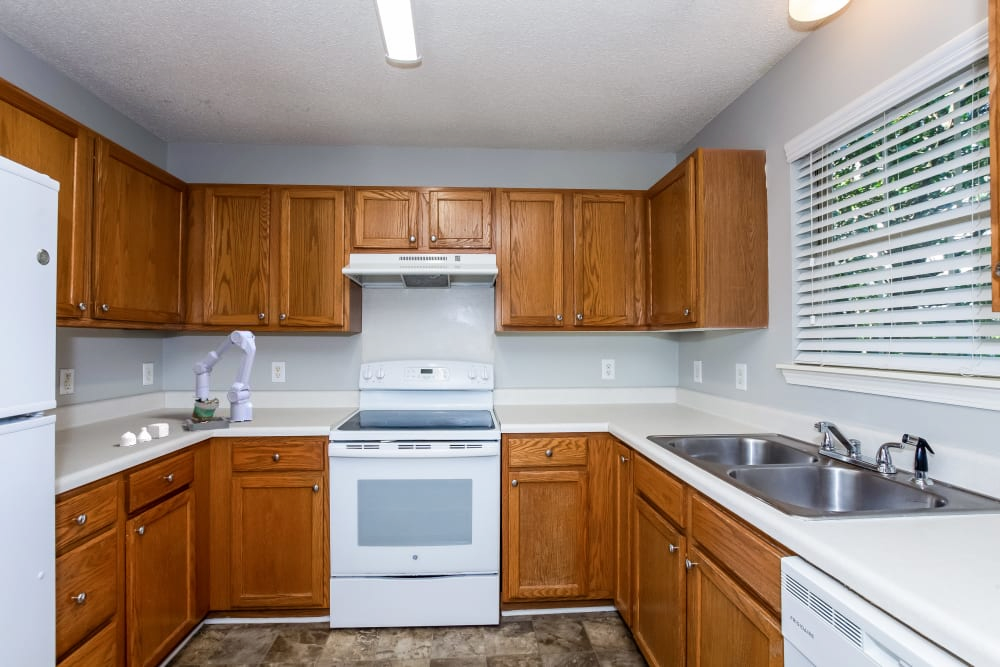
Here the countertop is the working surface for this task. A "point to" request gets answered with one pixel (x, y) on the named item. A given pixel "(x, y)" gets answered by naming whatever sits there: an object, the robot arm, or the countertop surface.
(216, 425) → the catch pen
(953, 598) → the countertop surface
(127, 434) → the container set
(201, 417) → the food container
